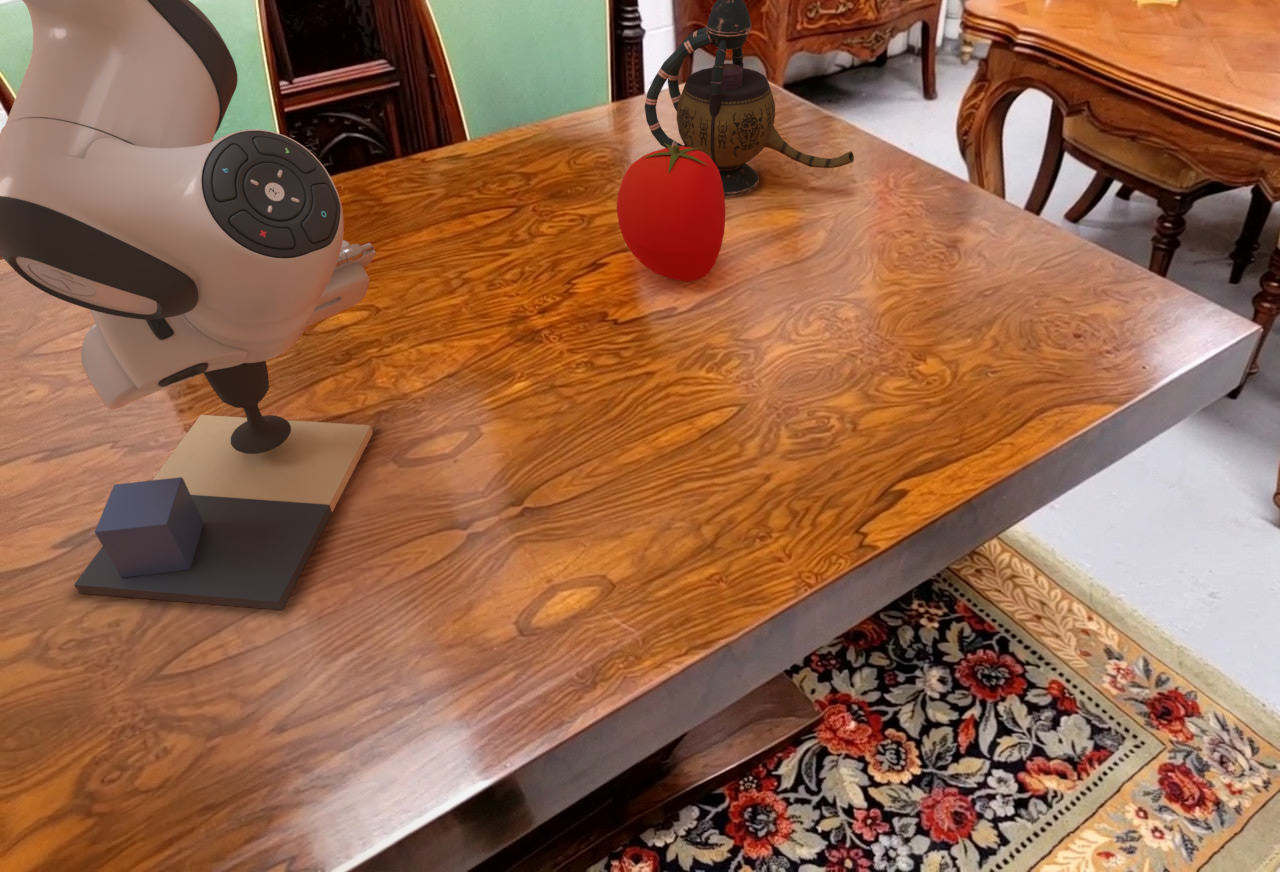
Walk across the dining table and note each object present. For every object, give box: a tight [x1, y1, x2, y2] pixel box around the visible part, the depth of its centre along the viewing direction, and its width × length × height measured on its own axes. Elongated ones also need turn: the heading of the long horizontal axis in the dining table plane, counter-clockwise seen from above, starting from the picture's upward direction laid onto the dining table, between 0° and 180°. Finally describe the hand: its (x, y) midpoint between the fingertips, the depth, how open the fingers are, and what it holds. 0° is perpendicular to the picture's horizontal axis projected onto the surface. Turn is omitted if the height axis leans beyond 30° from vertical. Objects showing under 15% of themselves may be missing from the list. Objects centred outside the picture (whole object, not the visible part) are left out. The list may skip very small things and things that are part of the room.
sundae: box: [203, 360, 291, 454], centre depth 75 cm, size 7×7×15 cm
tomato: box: [616, 143, 726, 282], centre depth 99 cm, size 13×11×14 cm
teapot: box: [644, 0, 855, 198], centre depth 111 cm, size 12×25×23 cm, turn 71°
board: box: [73, 414, 374, 611], centre depth 76 cm, size 16×20×1 cm
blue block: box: [94, 477, 204, 578], centre depth 70 cm, size 5×5×5 cm
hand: (227, 352), depth 74 cm, fingers closed on sundae, 6 cm apart
